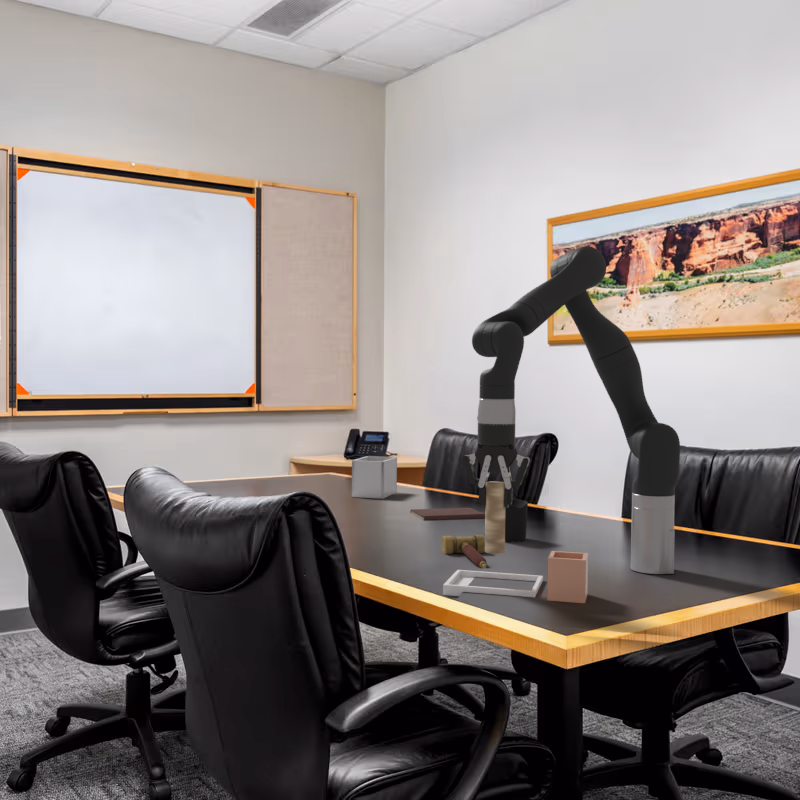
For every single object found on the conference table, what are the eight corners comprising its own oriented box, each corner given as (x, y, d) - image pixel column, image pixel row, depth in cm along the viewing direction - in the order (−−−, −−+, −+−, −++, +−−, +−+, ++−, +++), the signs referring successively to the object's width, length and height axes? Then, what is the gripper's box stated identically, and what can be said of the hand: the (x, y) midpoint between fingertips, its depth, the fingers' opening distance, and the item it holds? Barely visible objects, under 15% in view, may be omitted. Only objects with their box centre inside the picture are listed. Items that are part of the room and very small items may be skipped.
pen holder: (526, 543, 224) (526, 505, 224) (489, 541, 226) (490, 503, 226) (528, 536, 233) (528, 500, 233) (493, 535, 235) (493, 498, 235)
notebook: (410, 514, 272) (410, 508, 272) (469, 512, 278) (469, 506, 278) (423, 522, 258) (423, 515, 258) (485, 520, 263) (485, 513, 263)
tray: (542, 585, 179) (542, 575, 179) (534, 602, 165) (535, 591, 165) (457, 579, 183) (457, 569, 183) (443, 594, 170) (443, 584, 170)
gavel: (506, 556, 194) (463, 557, 192) (506, 575, 194) (463, 577, 192) (480, 532, 214) (441, 533, 212) (479, 550, 215) (440, 552, 213)
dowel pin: (506, 550, 175) (507, 481, 175) (503, 554, 172) (504, 484, 171) (486, 549, 177) (487, 481, 176) (483, 553, 173) (484, 483, 172)
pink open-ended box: (587, 599, 168) (588, 553, 168) (585, 608, 161) (585, 560, 161) (550, 596, 170) (551, 550, 170) (547, 605, 163) (548, 557, 163)
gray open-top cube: (396, 492, 320) (397, 457, 319) (383, 498, 303) (383, 461, 302) (366, 490, 323) (367, 456, 322) (351, 497, 306) (352, 460, 305)
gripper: (534, 421, 175) (533, 505, 176) (465, 419, 179) (464, 502, 179) (529, 423, 168) (528, 511, 168) (458, 421, 172) (456, 507, 172)
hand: (495, 506), depth 174 cm, fingers closed on dowel pin, 4 cm apart
